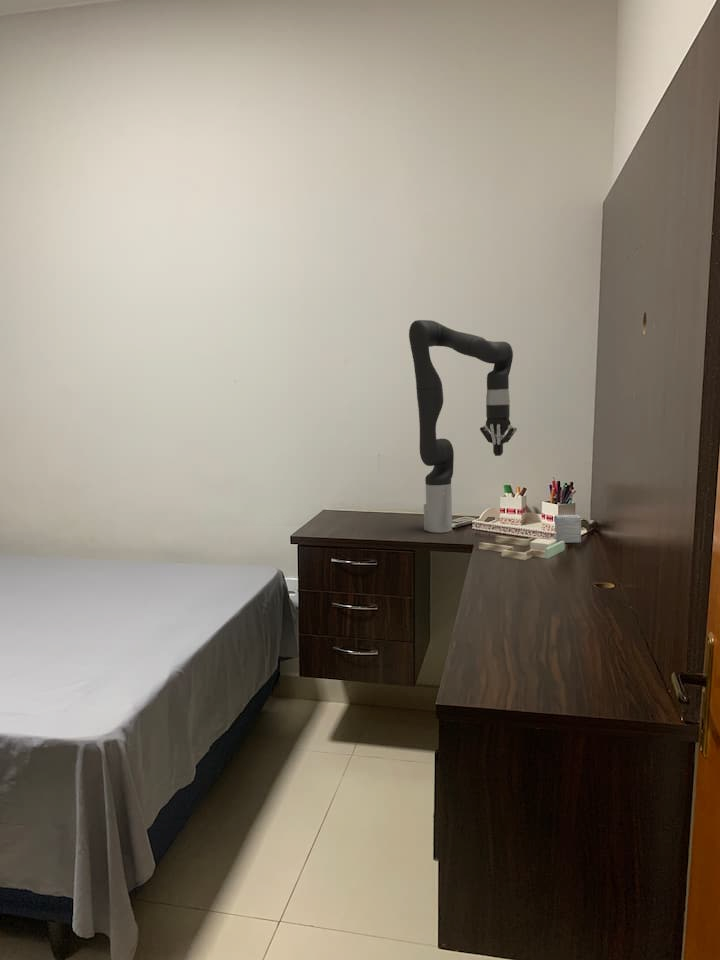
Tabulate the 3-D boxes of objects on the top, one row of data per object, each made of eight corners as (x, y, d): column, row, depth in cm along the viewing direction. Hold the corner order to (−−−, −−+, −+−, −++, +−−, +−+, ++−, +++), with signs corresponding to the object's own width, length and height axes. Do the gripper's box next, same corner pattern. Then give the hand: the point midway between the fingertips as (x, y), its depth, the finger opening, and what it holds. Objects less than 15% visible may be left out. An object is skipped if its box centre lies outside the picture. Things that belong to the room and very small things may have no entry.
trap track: (470, 552, 235) (470, 543, 235) (504, 538, 252) (504, 529, 251) (540, 562, 220) (540, 552, 220) (571, 547, 237) (571, 537, 236)
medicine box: (578, 539, 246) (578, 514, 245) (581, 543, 242) (581, 517, 240) (554, 540, 247) (554, 514, 246) (556, 543, 242) (556, 517, 241)
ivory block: (530, 554, 230) (530, 542, 230) (537, 550, 235) (537, 538, 234) (548, 556, 227) (548, 544, 226) (555, 552, 232) (555, 540, 231)
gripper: (474, 403, 244) (475, 455, 246) (510, 404, 235) (510, 457, 238) (485, 402, 249) (486, 453, 252) (521, 402, 241) (521, 455, 244)
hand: (498, 455), depth 245 cm, fingers closed
